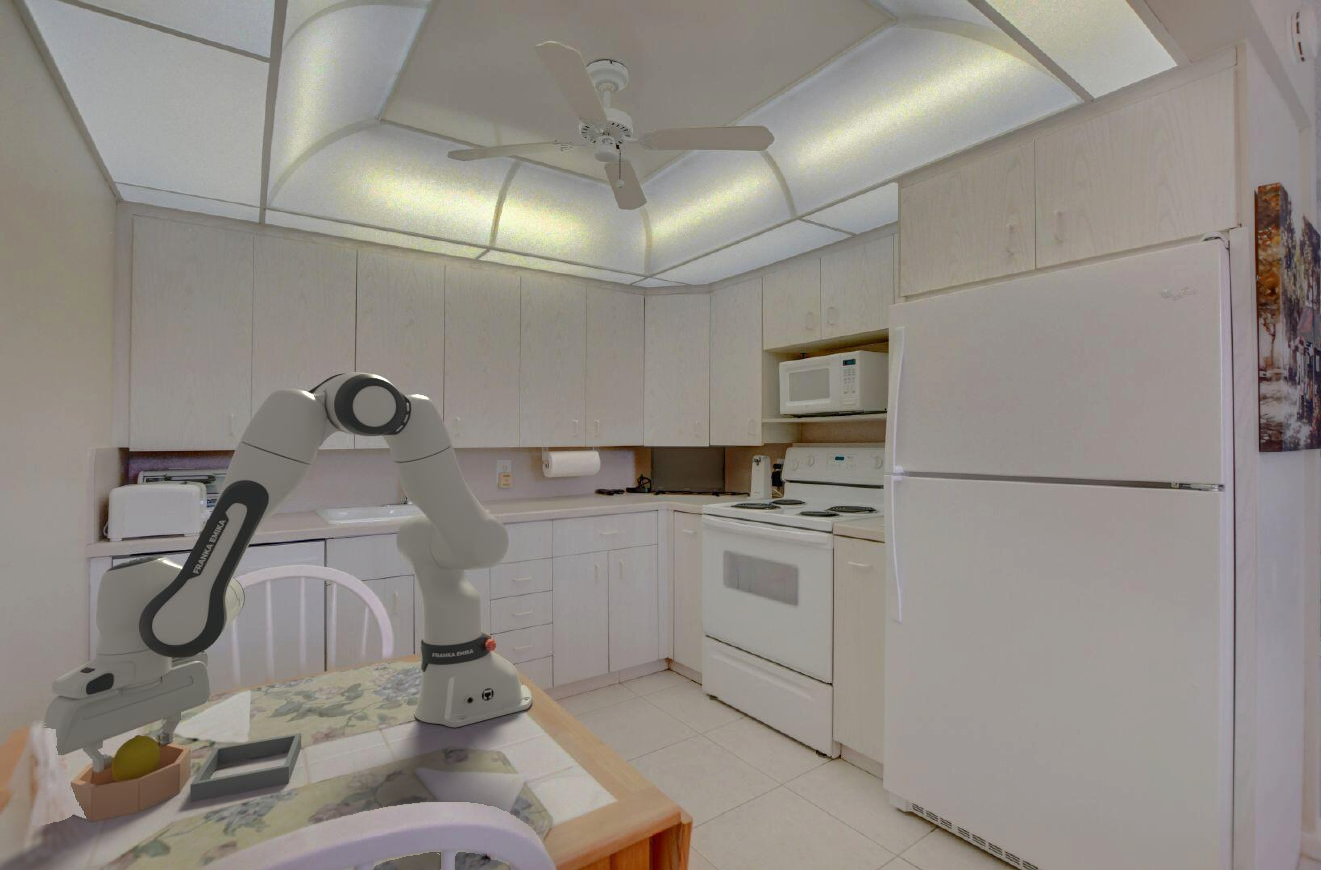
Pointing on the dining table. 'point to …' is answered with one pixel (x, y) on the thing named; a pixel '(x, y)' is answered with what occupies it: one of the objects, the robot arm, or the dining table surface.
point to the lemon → (136, 758)
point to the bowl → (132, 786)
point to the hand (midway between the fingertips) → (134, 756)
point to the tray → (247, 780)
